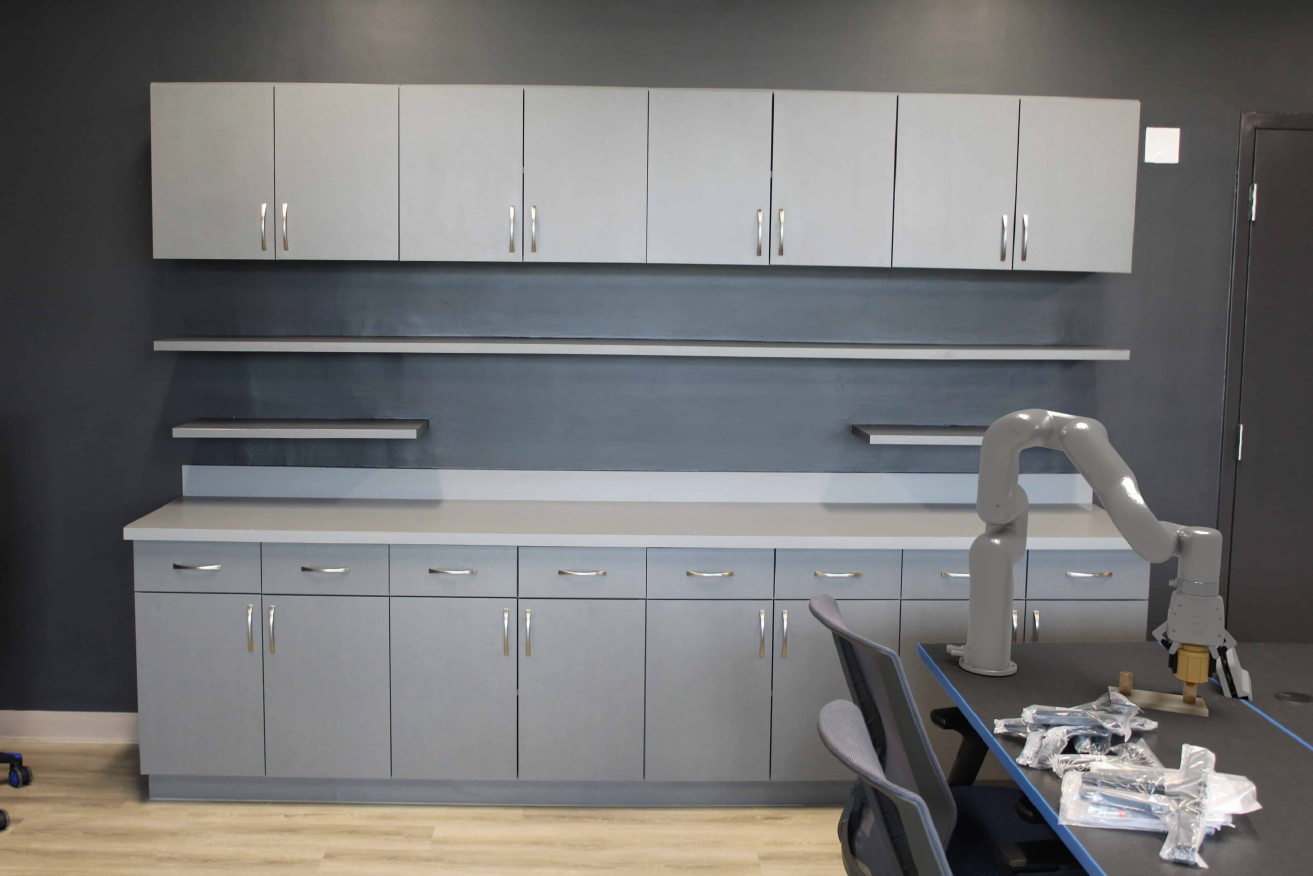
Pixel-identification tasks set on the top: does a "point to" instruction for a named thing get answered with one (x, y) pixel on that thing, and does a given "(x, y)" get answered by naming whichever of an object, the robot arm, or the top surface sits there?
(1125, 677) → the post left
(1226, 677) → the hinge
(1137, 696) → the plate
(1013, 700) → the top surface
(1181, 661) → the cap
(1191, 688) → the post right
